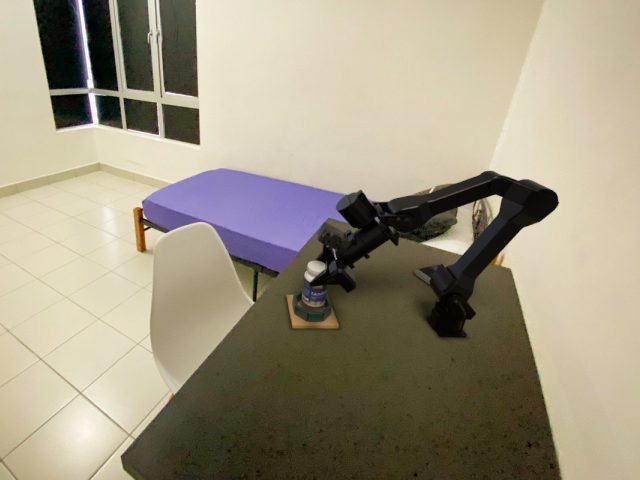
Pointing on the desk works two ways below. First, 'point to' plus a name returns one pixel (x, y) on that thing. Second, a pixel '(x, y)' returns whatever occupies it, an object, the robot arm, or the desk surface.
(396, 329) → the desk surface
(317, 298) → the pill bottle
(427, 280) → the cell phone
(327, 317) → the dock
